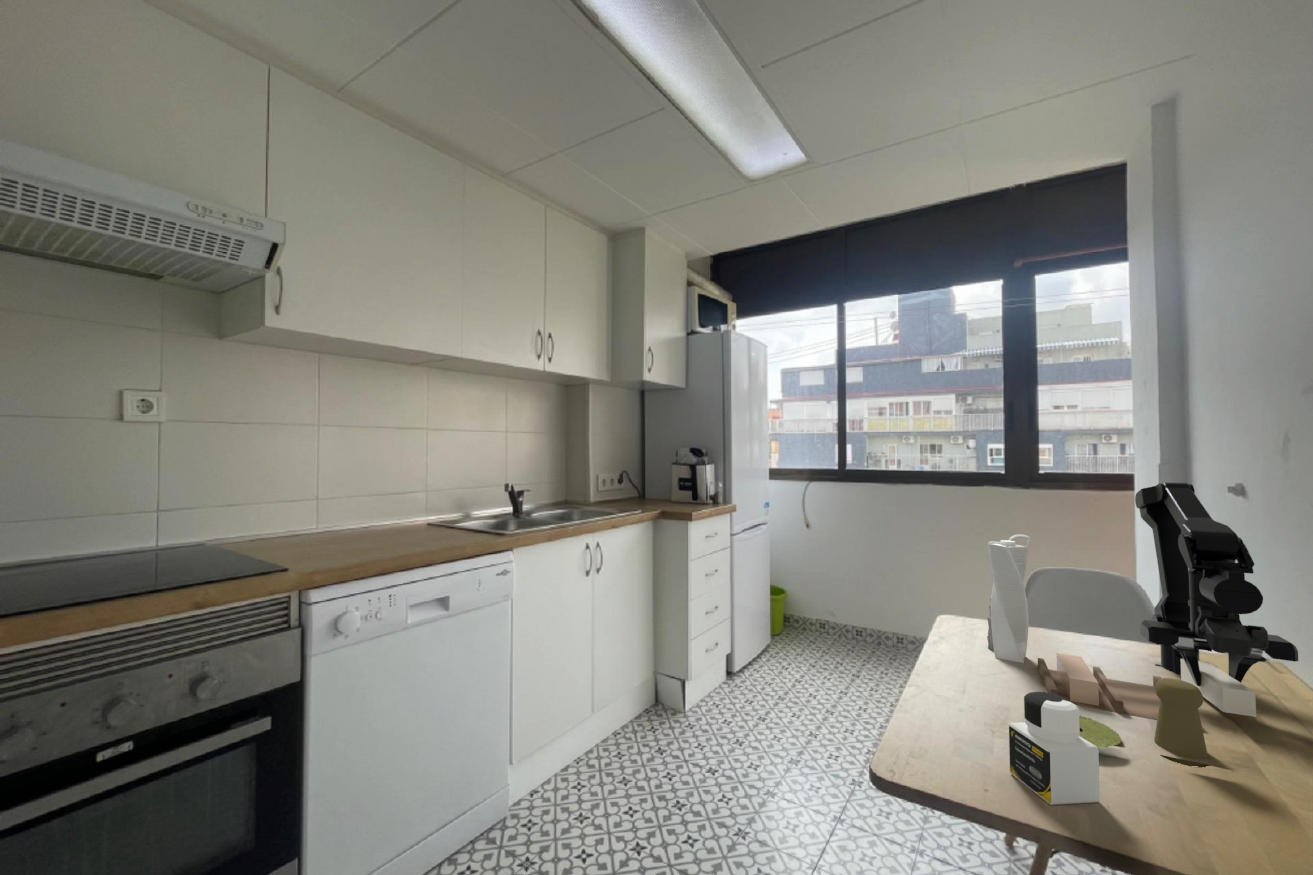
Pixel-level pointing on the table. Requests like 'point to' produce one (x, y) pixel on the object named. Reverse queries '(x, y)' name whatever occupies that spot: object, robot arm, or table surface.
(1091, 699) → the light brown wooden block
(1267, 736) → the table surface
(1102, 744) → the mat
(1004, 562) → the skyscraper
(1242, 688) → the clay strip
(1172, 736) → the cork
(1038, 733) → the medicine bottle
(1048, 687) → the drying rack
